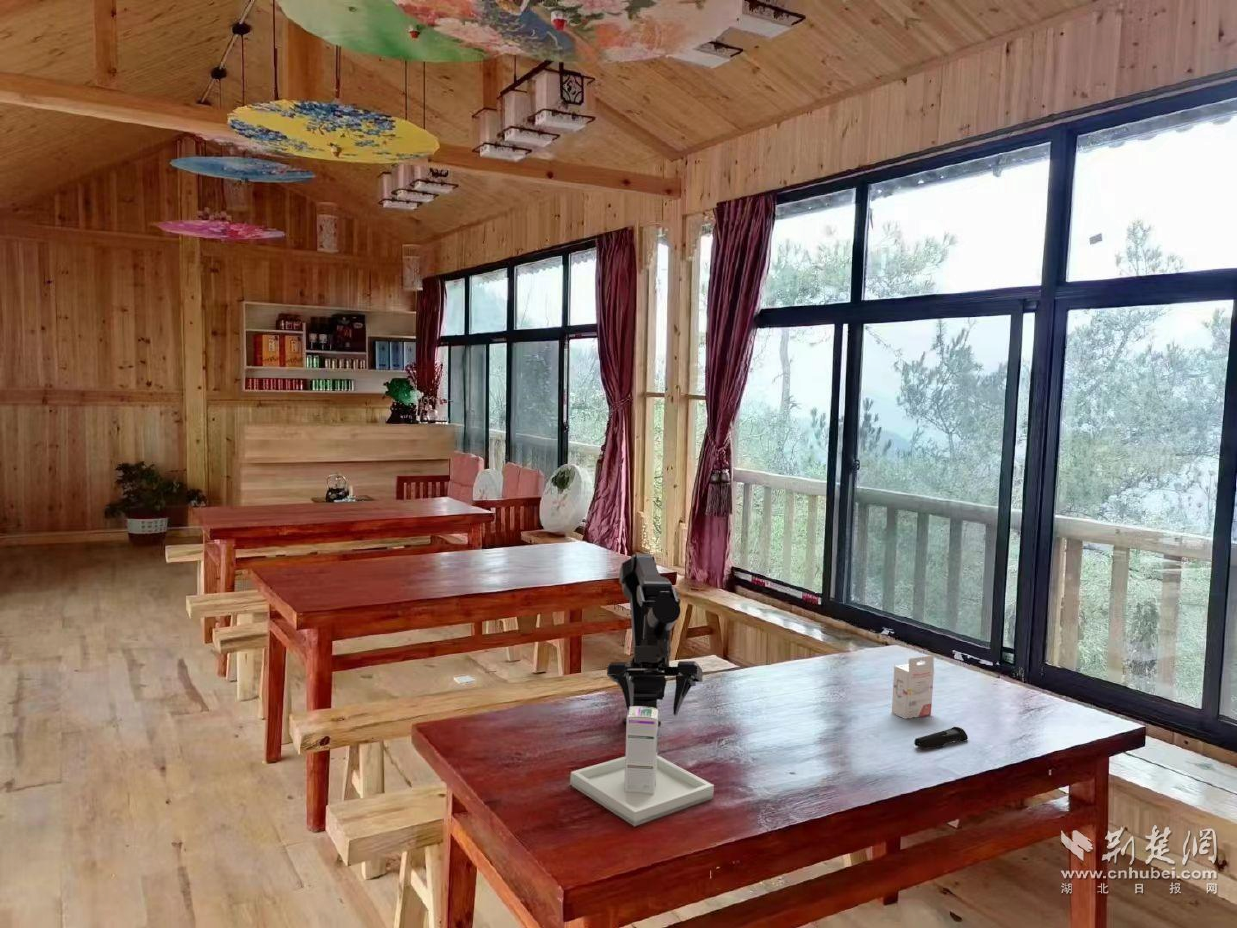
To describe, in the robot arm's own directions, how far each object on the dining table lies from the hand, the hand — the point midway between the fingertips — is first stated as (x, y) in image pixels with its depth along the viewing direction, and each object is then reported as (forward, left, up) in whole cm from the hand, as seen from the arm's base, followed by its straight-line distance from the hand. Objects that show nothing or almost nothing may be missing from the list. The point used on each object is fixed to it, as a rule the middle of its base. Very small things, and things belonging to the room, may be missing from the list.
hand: (652, 714), depth 173 cm
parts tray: (+7, -8, -11) cm, 15 cm away
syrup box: (+7, -8, -10) cm, 15 cm away
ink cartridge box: (+11, +74, -11) cm, 75 cm away
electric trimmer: (+26, +63, -11) cm, 69 cm away
